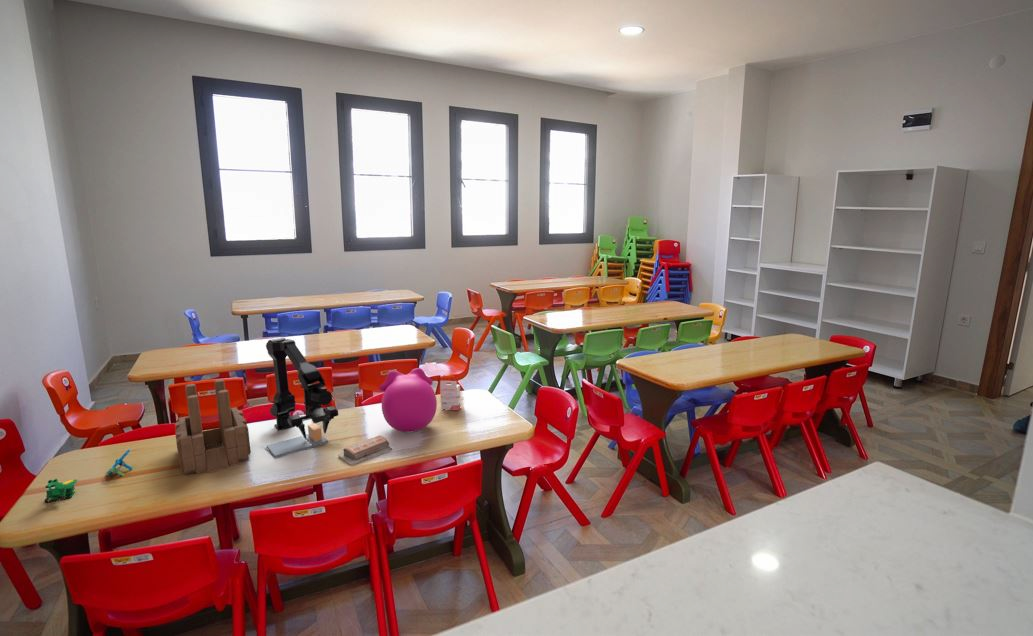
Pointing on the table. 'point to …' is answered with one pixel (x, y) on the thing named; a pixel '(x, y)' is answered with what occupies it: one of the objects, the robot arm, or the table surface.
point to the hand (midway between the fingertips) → (315, 435)
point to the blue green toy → (121, 463)
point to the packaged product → (365, 450)
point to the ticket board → (289, 446)
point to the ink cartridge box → (450, 395)
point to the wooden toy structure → (211, 435)
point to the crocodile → (59, 490)
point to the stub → (315, 435)
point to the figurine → (408, 400)
